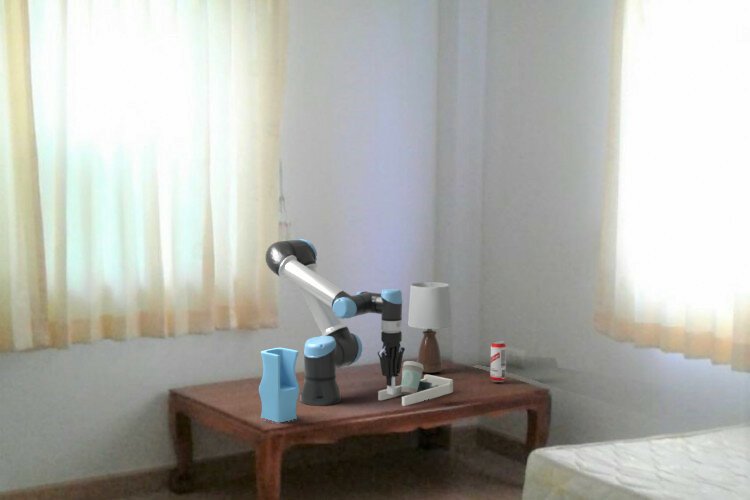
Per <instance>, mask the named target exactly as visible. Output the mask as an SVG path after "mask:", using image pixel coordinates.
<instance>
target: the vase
mask: <svg viewBox="0 0 750 500" xmlns="http://www.w3.org/2000/svg"><path fill="white" fill-rule="evenodd" d="M299 353H300V352H299V350H295V349H290V348H287V347H286V348H284V347H275V348H270V349H266V350H264V349H263V350H262V351H260V355H261V359H262V366H263V373H262V377H261V380H260V384H259V386H258V393H259V398H260V401H261V402H260V404H261V412H260V413H261V414H260V418H265V419H268V420H272V421H275V422H284V421H288V420H292V421H294V420H293V419H296V420H297V419H298V418H297V402H298V398H299V396H300V395H299V394H300V385H299V381H298V379H297V375H296V363H297V359H298V357H299ZM288 422H289V421H288Z"/></svg>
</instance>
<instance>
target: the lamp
mask: <svg viewBox="0 0 750 500" xmlns="http://www.w3.org/2000/svg"><path fill="white" fill-rule="evenodd" d="M409 288H410V290H409V303H408V304H409V305H408V319H407V320H408V321H407V325H408V327H410V328H413V329H414V328H415V329H424V330H423V331H422V334H423V337H422V339H421V342H420V344H419V348H418V355H417V360H416V362H418V363H421V364H422V365H423V368H424V371H423V373H430V374H431V373H438V372H441V371H443V360H442V354H441V348H440V344H439V341H438V339H437V335H436V334H437V331H435V329H436V330H437V329H438V330H440V329H447V328H450V327H452V312H451V311H452V310H451V296H450V295H451V293H450V284H449V283H444V282H437V281H434V282H433V281H427V282H426V281H424V282H413V283H410V287H409Z"/></svg>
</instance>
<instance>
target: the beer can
mask: <svg viewBox="0 0 750 500" xmlns="http://www.w3.org/2000/svg"><path fill="white" fill-rule="evenodd" d="M489 371H490V375H489V376H490V380H491V381H492V382H493V383H502V382H505V380H506V379H507V346H506V343H505V341H503V340H493V341H492V343H491V345H490V370H489Z"/></svg>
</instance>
